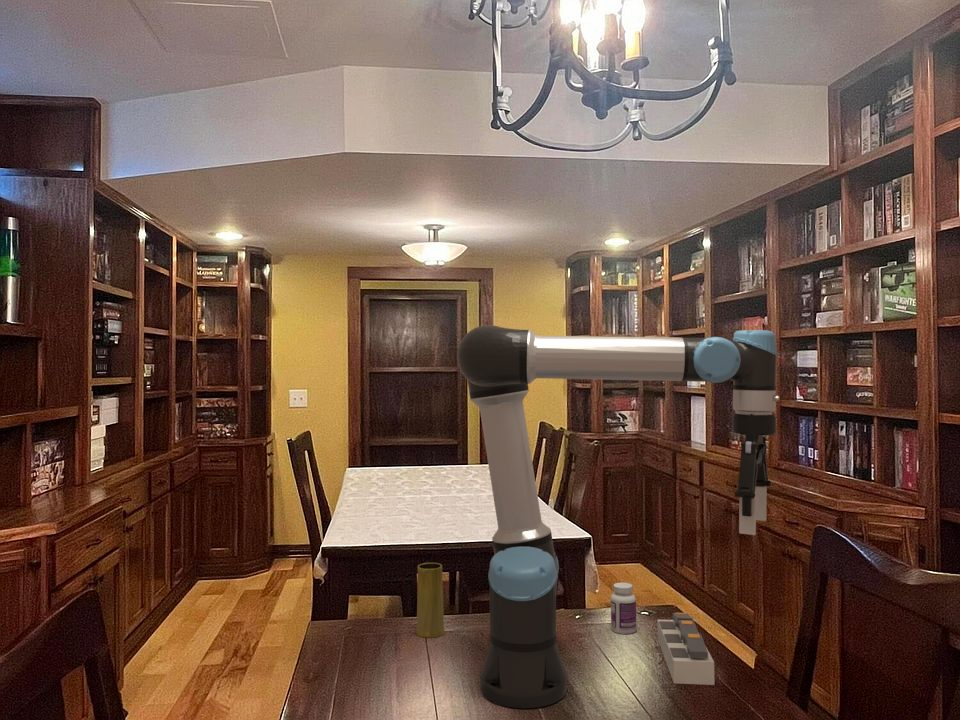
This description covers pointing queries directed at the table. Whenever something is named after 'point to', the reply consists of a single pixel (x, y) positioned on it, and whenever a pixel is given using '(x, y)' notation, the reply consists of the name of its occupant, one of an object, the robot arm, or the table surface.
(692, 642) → the block
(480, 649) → the table surface
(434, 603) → the vase
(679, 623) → the rocker
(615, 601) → the pill bottle
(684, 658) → the power strip
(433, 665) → the table surface
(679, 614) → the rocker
